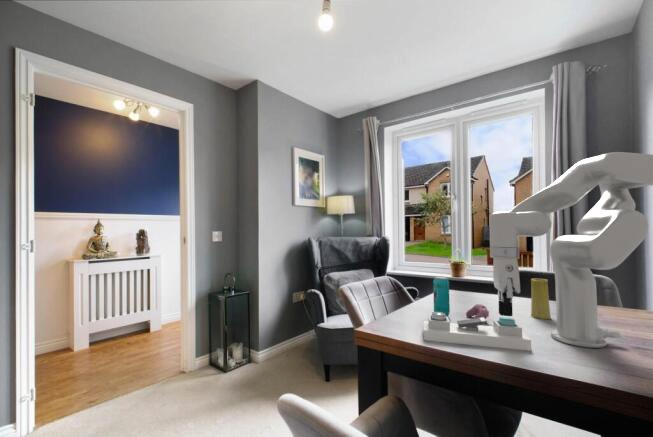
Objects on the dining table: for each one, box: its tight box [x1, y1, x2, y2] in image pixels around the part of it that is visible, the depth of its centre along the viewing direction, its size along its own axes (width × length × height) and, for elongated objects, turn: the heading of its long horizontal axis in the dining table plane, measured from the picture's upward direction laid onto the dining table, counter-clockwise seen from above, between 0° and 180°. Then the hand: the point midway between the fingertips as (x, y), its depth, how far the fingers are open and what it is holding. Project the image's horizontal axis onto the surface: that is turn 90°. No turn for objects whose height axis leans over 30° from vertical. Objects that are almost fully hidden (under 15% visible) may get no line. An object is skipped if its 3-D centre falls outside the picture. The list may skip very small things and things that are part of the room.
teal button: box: [498, 316, 516, 327], centre depth 87 cm, size 4×4×2 cm
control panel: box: [423, 314, 532, 352], centre depth 90 cm, size 28×10×6 cm, turn 73°
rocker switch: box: [456, 317, 489, 328], centre depth 90 cm, size 8×4×1 cm, turn 73°
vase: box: [530, 277, 552, 320], centre depth 113 cm, size 6×6×14 cm
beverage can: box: [432, 275, 451, 318], centre depth 115 cm, size 6×6×15 cm
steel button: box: [431, 311, 445, 321], centre depth 93 cm, size 4×4×2 cm
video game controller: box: [465, 303, 490, 320], centre depth 109 cm, size 10×5×7 cm, turn 169°
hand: (505, 315), depth 87 cm, fingers closed
